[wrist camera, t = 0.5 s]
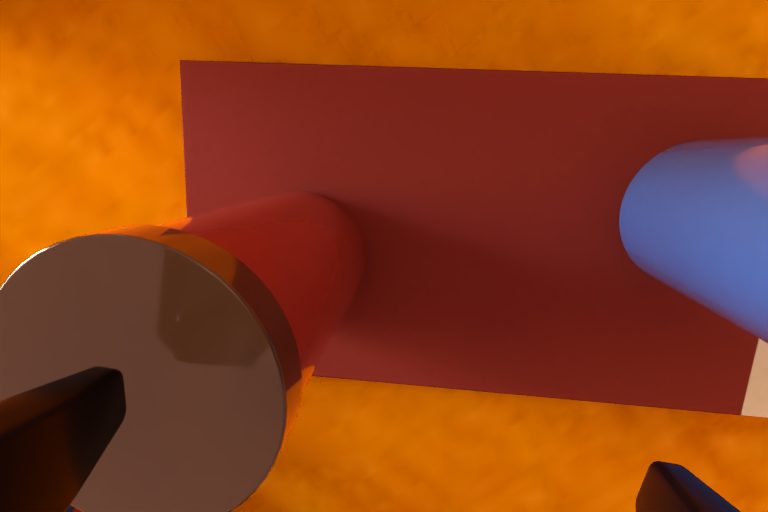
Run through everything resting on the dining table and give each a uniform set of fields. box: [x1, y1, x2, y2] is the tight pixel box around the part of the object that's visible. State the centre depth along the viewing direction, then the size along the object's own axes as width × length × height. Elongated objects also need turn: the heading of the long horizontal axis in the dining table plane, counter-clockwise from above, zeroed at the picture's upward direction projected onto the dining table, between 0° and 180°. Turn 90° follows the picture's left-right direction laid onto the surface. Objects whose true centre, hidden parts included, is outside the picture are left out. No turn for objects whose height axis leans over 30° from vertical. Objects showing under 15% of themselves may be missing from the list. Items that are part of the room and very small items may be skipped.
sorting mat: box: [180, 60, 768, 418], centre depth 21 cm, size 14×38×1 cm, turn 87°
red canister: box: [0, 191, 366, 512], centre depth 16 cm, size 7×7×13 cm
